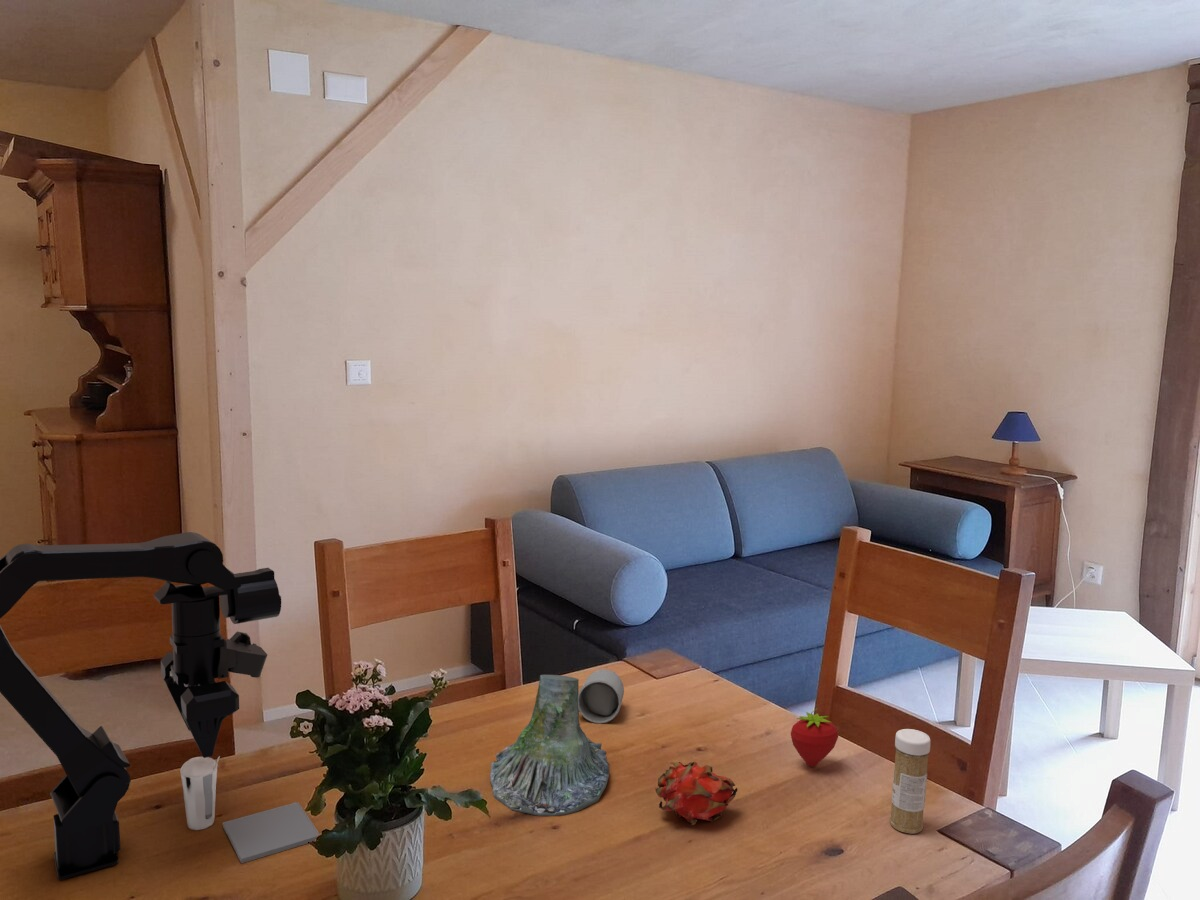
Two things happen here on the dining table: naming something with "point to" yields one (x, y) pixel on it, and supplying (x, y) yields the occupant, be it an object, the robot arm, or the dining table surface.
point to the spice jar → (909, 780)
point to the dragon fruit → (695, 792)
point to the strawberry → (813, 738)
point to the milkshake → (199, 791)
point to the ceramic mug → (601, 696)
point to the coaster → (270, 832)
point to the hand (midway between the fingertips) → (200, 742)
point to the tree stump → (551, 757)
